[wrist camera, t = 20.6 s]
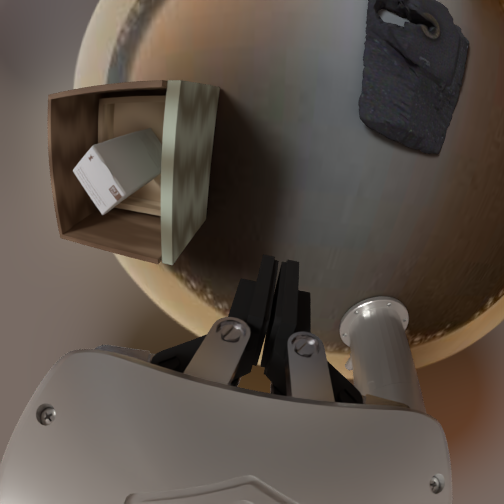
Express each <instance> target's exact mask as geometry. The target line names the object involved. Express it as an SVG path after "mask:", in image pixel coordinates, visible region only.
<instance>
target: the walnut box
mask: <svg viewBox="0 0 504 504" xmlns="http://www.w3.org/2000/svg"><path fill="white" fill-rule="evenodd" d="M167 83H168V81H164V80H157V81H137V82H125V83H114V84H106V85H98V86H91V87H85V88H79V89H74V90H68V91H64V92H59V93H54V94H50V95H48V151H49V166H50V176H51V185H52V193H53V200H54V206H55V212H56V218H57V223H58V228H59V233H60V237H61V238H62V239H66V240H70V241H73V242H77V243H80V244H83V245H87V246H91V247H94V248H98V249H102V250H105V251H109V252H113V253H116V254H120V255H124V256H128V257H132V258H135V259H139V260H143V261H147V262H151V263H155V264H159V262H160V261H161V260H162V246H161V216H158V215H153V214H147V213H142V212H136V211H131V210H125V209H119V208H113V209H111V210H110V211H109V212H107V213H106V214H105V215H102V214H101V212H100V211H99V209H98V208H97V207H96V205H95V204H94V202H93V201H92V199H91V198H90V196H89V195H88V193H87V192H86V190H85V189H84V187H83V186H82V184H81V183H80V181H79V180H78V178H77V177H76V175H75V174H74V172H73V169H74V168H75V167H76V165H77V164H78V163H79V161H80V160H81V159H82V158H83V157H84V155H85V154H86V153H87V152H88V151H89V149H90V148H91V147H92V146H93V145H95V144H98V113H99V99H102V98H113V97H128V96H166V92H167Z"/></svg>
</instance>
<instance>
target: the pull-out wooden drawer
mask: <svg viewBox="0 0 504 504" xmlns="http://www.w3.org/2000/svg"><path fill="white" fill-rule="evenodd" d="M219 91H220V87H216V86H211V85H206V84H200V83H194V82H188V81H181V80H168V83H167V92H166V96H128V97H113V98H102V99H99V113H98V143H102V142H104V141H107V140H110V139H113V138H116V137H119V136H123V135H126V134H130V133H133V132H137V131H140V130H144V129H148V128H151V129H152V131H153V132H154V134H155V135H156V137H157V138H158V140H159V141H160V143H161V144H162V160H161V174H159V175H158V176H157V177H156V178H154V179H153V180H152V181H150V182H149V183H147V184H146V185H144V186H143V187H141V188H140V189H139V190H137V191H136V192H134V193H133V194H131V195H130V196H129V197H127V198H126V199H124V200H123V201H122V202H120V203H119V204H118V205H116V206H115V207H114V208H119V209H125V210H131V211H136V212H142V213H147V214H153V215H158V216H161V246H162V263H165V264H169V265H173V264H174V263H175V261H176V260H177V258H178V257H179V255H180V254H181V253H182V251H183V250H184V248H185V247H186V246H187V244H188V243H189V242H190V240H191V239H192V237H193V236H194V235H195V233H196V232H197V231H198V229H199V228H200V227H201V225H202V224H203V223H204V221H205V220H206V214H207V201H208V189H209V178H210V167H211V157H212V148H213V139H214V130H215V122H216V114H217V106H218V98H219Z"/></svg>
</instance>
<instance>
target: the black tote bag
mask: <svg viewBox="0 0 504 504" xmlns="http://www.w3.org/2000/svg"><path fill="white" fill-rule="evenodd" d="M368 1H369V2H368V10H367V21H366V24H367V27H366V34H367V35H366V42H365V43H364V44H365V50H364V56H363V61H364V64H363V65H364V66H365V68H364V70H363V80H362V94H361V96H360V99H359V115H360V119H361V120H362V121H363V122H364V123H365V124H366V125H367V126H368V127H369V128H371V129H373V130H376V131H377V132H379V133H381V134H383V135H385V136H386V137H387V138H389V139H392V140H394V141H398V142H400V143H402V144H404V145H405V146H407V147H410V148H413V149H420V150H421V152H423V153H428V154H431V153H435V154H439V152H440V149H441V148H442V144H443V143H444V140H445V136H446V130H447V128H448V126H449V125H450V121H451V119H452V114H453V112H454V109H455V106H456V103H457V100H458V96H459V89H460V87H461V85H462V78H463V74H464V69H465V63H466V59H467V50H468V45H469V41H468V40H467V38H465V37H464V35H463V34H462V33H461V28H460V27H459V26H457V25H455V24H454V23H453V18H452V16H451V15H450V13H449V11H448V9H447V8H446V7H445V6H444V5H443V4H441V3H440V2H438V1H436V0H368ZM380 9H387V10H389V11H392V12H394V13H396V14H397V15H399V16H400V17H402V18H407V19H408V20H409V21H411V22H413V23H415V24H413V23H409V22H405V24H404V27H402V26H398V25H396V24H391V23H386V22H383V20H382V19H381V18H380V17H379V16H378V14H377V12H378V10H380Z"/></svg>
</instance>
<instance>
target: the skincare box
mask: <svg viewBox="0 0 504 504" xmlns="http://www.w3.org/2000/svg"><path fill="white" fill-rule="evenodd" d="M161 160H162V144H161V143H160V141H159V140H158V138H157V137H156V135H155V134H154V132H153V131H152V129H151V128H148V129H144V130H140V131H137V132H133V133H130V134H126V135H123V136H119V137H116V138H113V139H110V140H107V141H104V142H102V143H98V144H95V145H93V146H92V147H91V148H90V149H89V151H88V152H87V153H86V154H85V155H84V157H83V158H82V159H81V160H80V161H79V163H78V164H77V165H76V167H75V168H74V169H73V172H74V174H75V175H76V177H77V178H78V180H79V181H80V183H81V184H82V186H83V187H84V189H85V190H86V192H87V193H88V195H89V196H90V198H91V199H92V201H93V202H94V204H95V205H96V207H97V208H98V209H99V211H100V212H101V214H102V215H105V214H106V213H107V212H109V211H110V210H111V209H113V208H114V207H115V206H116V205H118V204H119V203H120V202H122V201H123V200H124V199H126V198H127V197H129V196H130V195H131V194H133V193H134V192H136V191H137V190H139V189H140V188H141V187H143V186H144V185H146V184H147V183H149V182H150V181H152V180H153V179H154V178H156V177H157V176H158V175H159V174H161Z"/></svg>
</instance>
